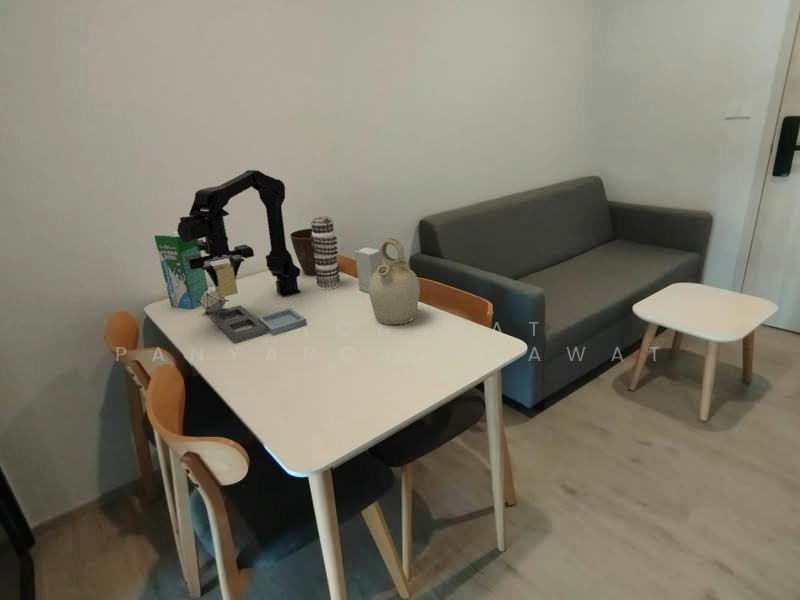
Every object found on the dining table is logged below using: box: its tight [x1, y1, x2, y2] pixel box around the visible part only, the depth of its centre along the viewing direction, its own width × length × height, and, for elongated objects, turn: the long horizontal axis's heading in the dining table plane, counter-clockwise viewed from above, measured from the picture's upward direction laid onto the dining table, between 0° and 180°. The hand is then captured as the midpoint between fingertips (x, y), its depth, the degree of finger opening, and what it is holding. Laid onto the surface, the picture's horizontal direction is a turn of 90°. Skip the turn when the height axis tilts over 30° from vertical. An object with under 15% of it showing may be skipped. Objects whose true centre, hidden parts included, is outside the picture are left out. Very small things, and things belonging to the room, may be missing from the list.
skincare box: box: [354, 246, 384, 294], centre depth 169 cm, size 8×6×15 cm
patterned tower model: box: [310, 216, 341, 290], centre depth 174 cm, size 9×9×25 cm
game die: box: [197, 288, 230, 315], centre depth 158 cm, size 9×8×10 cm
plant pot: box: [289, 228, 317, 276], centre depth 190 cm, size 15×15×16 cm
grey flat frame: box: [209, 304, 269, 344], centre depth 148 cm, size 10×22×2 cm, turn 37°
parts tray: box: [257, 307, 308, 336], centre depth 148 cm, size 11×11×2 cm
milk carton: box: [154, 231, 209, 310], centre depth 163 cm, size 9×9×25 cm
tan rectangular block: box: [212, 262, 239, 298], centre depth 147 cm, size 5×5×8 cm
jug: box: [368, 237, 421, 325], centre depth 145 cm, size 15×16×25 cm
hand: (225, 283), depth 148 cm, fingers closed on tan rectangular block, 5 cm apart
